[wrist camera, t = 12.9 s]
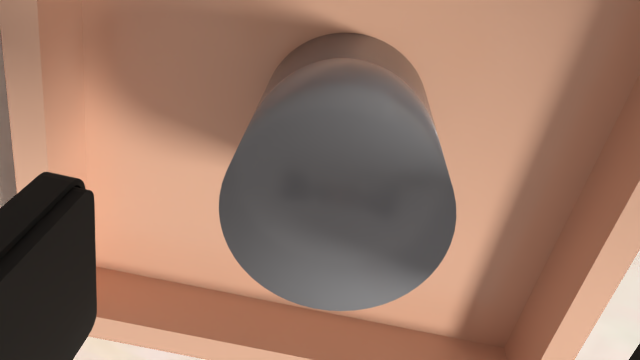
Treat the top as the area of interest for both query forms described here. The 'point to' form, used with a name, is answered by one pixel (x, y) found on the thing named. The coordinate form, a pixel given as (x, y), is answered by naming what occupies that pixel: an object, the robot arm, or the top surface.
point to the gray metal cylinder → (340, 179)
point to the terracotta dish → (235, 115)
